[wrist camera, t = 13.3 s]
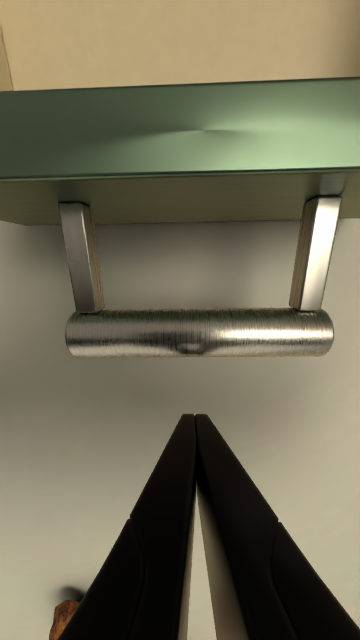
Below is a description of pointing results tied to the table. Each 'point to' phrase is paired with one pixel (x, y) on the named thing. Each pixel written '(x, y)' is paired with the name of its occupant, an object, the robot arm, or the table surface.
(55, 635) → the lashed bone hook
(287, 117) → the drawer
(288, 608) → the robot arm
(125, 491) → the table surface
